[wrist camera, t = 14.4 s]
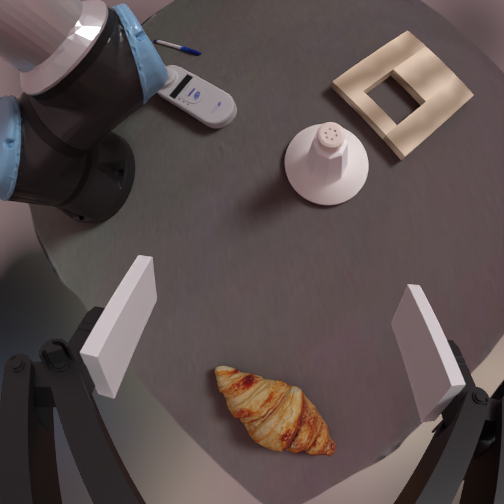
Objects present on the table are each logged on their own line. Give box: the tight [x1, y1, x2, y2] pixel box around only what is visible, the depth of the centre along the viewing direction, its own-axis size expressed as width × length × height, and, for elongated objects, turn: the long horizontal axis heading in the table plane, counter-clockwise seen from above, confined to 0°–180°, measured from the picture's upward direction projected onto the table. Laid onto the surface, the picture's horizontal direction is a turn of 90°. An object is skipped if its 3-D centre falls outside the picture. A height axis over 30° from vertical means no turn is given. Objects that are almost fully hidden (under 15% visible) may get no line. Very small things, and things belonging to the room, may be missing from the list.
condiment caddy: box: [332, 31, 473, 160], centre depth 37 cm, size 14×17×2 cm
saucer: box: [285, 124, 368, 205], centre depth 40 cm, size 11×11×1 cm
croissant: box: [214, 366, 336, 456], centre depth 40 cm, size 21×10×8 cm, turn 55°
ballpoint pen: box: [154, 40, 201, 55], centre depth 44 cm, size 10×1×1 cm, turn 61°
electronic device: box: [157, 65, 237, 129], centre depth 40 cm, size 5×10×15 cm
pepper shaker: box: [306, 122, 348, 183], centre depth 34 cm, size 5×5×11 cm
